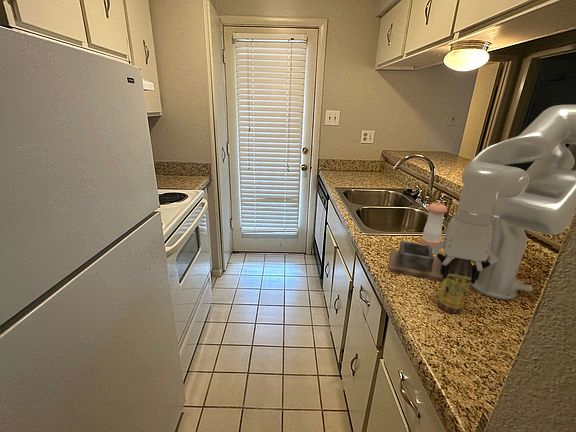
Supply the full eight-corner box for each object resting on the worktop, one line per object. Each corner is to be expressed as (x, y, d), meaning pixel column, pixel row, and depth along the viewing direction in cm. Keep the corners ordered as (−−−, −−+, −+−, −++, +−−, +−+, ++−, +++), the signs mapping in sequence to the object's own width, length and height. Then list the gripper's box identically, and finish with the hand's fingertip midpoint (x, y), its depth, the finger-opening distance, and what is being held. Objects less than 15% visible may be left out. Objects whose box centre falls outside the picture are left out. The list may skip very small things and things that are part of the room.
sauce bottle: (438, 311, 81) (452, 246, 74) (436, 298, 86) (449, 237, 80) (465, 316, 79) (482, 250, 72) (461, 303, 84) (476, 241, 78)
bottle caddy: (452, 262, 108) (456, 246, 105) (460, 285, 93) (465, 267, 91) (390, 252, 115) (393, 237, 112) (389, 271, 100) (391, 255, 98)
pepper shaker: (429, 251, 116) (438, 205, 110) (416, 243, 123) (424, 200, 116) (443, 249, 118) (453, 204, 112) (429, 241, 125) (438, 199, 118)
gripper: (508, 217, 74) (490, 278, 80) (434, 208, 79) (422, 266, 85) (519, 227, 67) (498, 293, 73) (437, 217, 73) (424, 279, 79)
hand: (457, 278), depth 79 cm, fingers closed on sauce bottle, 6 cm apart
